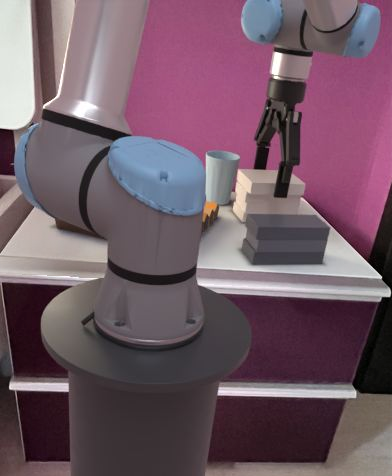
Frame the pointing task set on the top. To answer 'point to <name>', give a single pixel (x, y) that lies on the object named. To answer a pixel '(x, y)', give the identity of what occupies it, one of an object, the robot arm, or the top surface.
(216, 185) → the cup
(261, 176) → the white book
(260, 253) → the grey books
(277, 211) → the white books
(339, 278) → the top surface
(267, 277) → the top surface
